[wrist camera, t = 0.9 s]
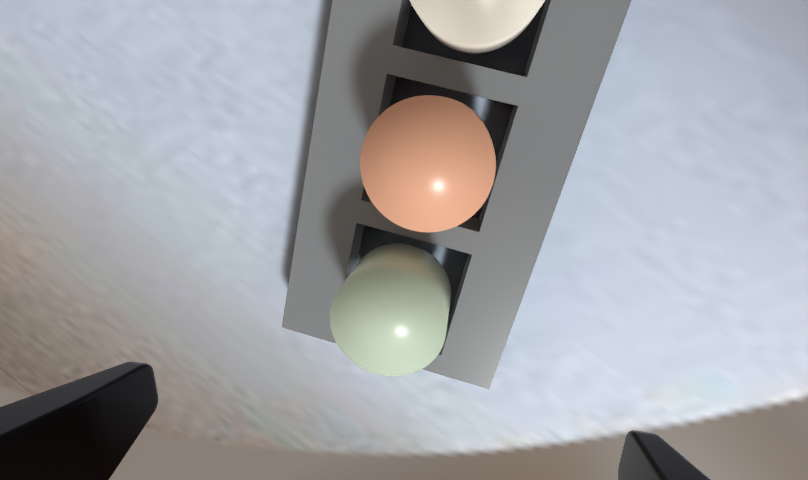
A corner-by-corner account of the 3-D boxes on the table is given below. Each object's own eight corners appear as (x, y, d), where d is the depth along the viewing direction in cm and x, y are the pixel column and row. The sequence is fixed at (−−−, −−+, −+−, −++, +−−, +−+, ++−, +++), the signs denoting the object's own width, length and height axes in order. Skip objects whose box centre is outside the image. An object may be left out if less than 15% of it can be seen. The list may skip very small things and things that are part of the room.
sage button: (463, 259, 18) (460, 289, 15) (436, 347, 19) (429, 389, 16) (361, 231, 18) (340, 255, 15) (343, 320, 20) (321, 357, 17)
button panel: (646, -82, 15) (670, -108, 13) (487, 363, 21) (488, 388, 19) (372, -139, 16) (358, -171, 14) (298, 307, 22) (281, 327, 20)
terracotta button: (507, 112, 16) (514, 114, 13) (473, 223, 17) (473, 247, 14) (392, 83, 16) (375, 80, 13) (369, 195, 18) (349, 213, 15)
